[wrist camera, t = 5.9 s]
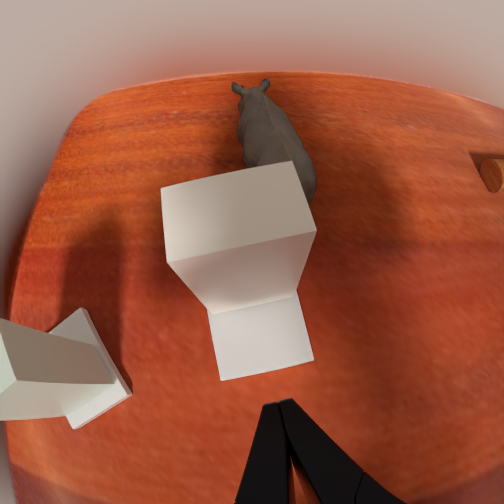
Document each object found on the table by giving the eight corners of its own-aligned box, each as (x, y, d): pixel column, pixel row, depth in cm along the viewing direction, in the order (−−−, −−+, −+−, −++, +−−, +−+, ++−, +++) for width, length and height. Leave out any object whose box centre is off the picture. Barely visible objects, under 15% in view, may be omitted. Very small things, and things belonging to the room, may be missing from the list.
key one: (293, 296, 18) (317, 230, 10) (212, 314, 18) (166, 262, 10) (280, 249, 19) (290, 156, 11) (203, 265, 19) (160, 184, 11)
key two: (115, 383, 16) (16, 380, 8) (67, 415, 15) (-31, 420, 7) (92, 342, 17) (-5, 312, 9) (47, 376, 16) (-48, 361, 8)
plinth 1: (132, 394, 17) (127, 394, 16) (79, 428, 16) (73, 429, 15) (86, 309, 19) (80, 306, 19) (39, 346, 18) (33, 345, 17)
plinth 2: (312, 360, 18) (314, 360, 17) (222, 380, 17) (221, 380, 17) (285, 257, 20) (286, 252, 19) (203, 275, 20) (200, 271, 19)
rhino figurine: (267, 105, 26) (267, 54, 21) (320, 231, 21) (337, 181, 15) (224, 113, 26) (217, 61, 20) (263, 245, 21) (262, 197, 15)
